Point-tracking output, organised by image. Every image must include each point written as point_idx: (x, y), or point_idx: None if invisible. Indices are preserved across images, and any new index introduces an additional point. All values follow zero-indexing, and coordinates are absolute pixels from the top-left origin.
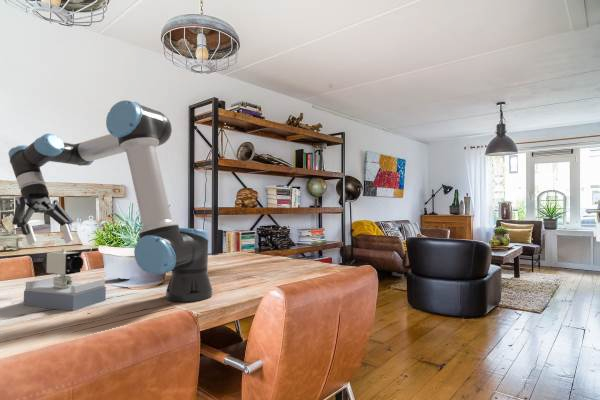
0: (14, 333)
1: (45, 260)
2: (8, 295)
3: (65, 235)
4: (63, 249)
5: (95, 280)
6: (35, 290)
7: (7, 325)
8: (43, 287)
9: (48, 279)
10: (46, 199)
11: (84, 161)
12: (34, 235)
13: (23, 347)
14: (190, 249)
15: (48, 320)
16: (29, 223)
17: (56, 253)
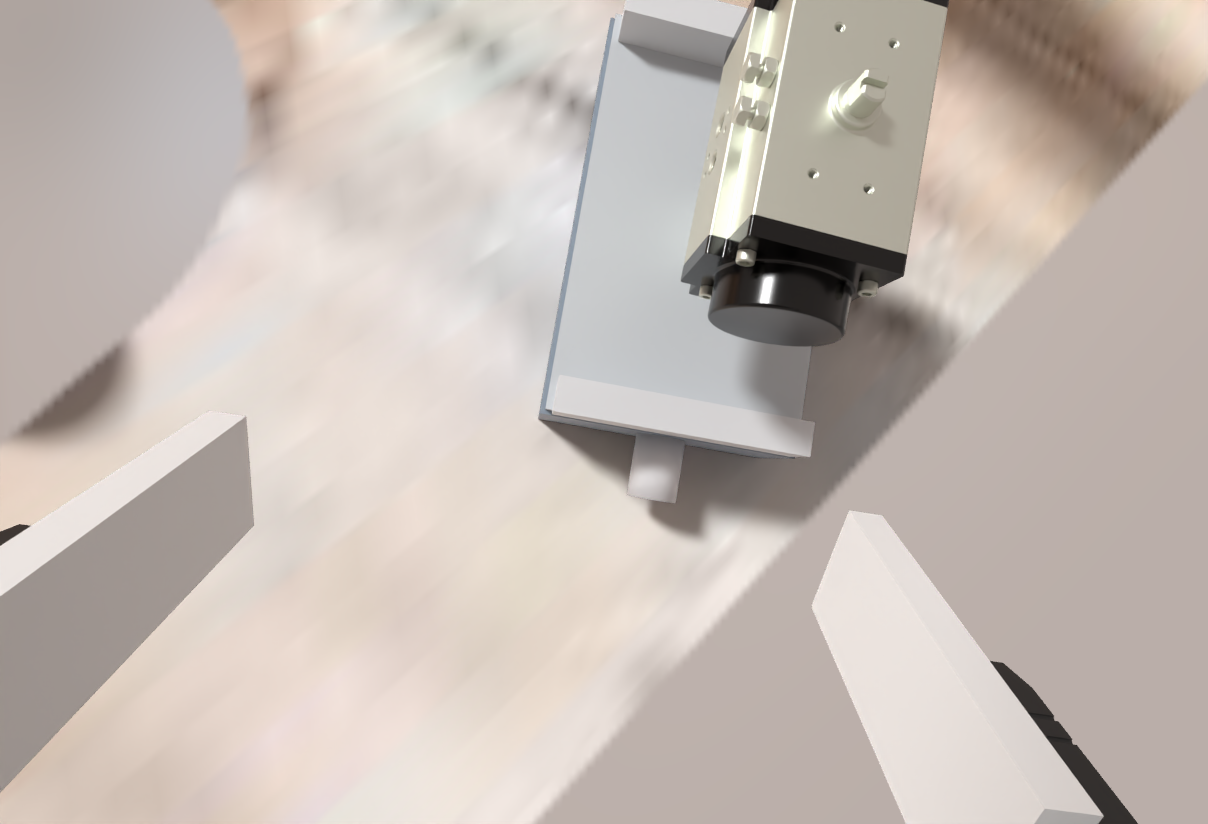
0: (1100, 156)
1: (859, 295)
2: (573, 756)
3: (170, 560)
4: (884, 76)
5: (685, 15)
6: (806, 366)
7: (1032, 261)
8: (747, 363)
9: (672, 397)
10: None
11: None
12: (896, 571)
13: (1196, 21)
14: None
15: (949, 140)
16: (1074, 807)
17: (925, 128)
